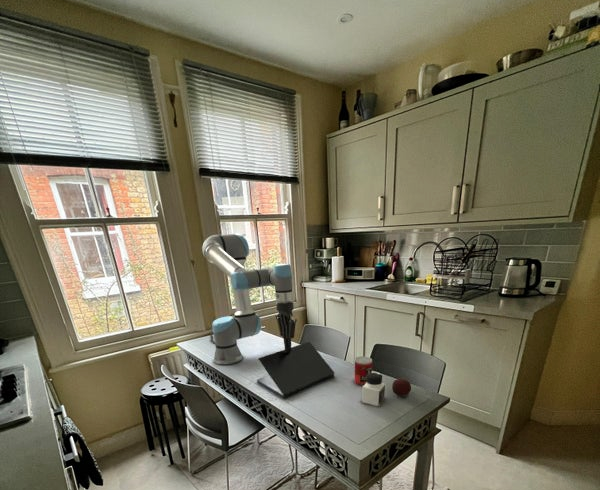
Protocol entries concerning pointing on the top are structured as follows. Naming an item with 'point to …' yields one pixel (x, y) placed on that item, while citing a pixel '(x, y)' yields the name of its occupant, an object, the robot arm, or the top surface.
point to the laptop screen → (296, 367)
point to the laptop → (272, 387)
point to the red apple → (401, 387)
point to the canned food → (362, 369)
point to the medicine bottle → (373, 389)
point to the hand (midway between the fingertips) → (288, 351)
